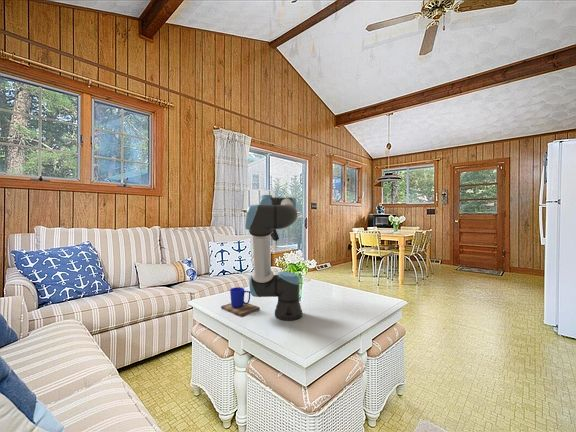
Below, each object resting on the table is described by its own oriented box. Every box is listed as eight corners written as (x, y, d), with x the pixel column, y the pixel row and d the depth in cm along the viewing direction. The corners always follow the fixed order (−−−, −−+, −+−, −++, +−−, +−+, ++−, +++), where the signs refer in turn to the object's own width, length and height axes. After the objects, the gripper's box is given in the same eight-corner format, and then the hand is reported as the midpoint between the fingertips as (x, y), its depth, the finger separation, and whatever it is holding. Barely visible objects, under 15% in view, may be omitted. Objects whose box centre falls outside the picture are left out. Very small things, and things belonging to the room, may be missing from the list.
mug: (247, 309, 157) (247, 292, 157) (227, 308, 159) (227, 290, 159) (252, 304, 165) (252, 288, 165) (233, 303, 168) (233, 286, 167)
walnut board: (259, 309, 161) (259, 307, 161) (240, 316, 151) (240, 313, 151) (240, 302, 173) (240, 300, 173) (221, 308, 163) (221, 306, 163)
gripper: (276, 218, 192) (276, 248, 193) (248, 219, 174) (248, 253, 174) (284, 218, 187) (284, 249, 188) (256, 219, 169) (256, 254, 169)
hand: (266, 251), depth 181 cm, fingers open, 13 cm apart
